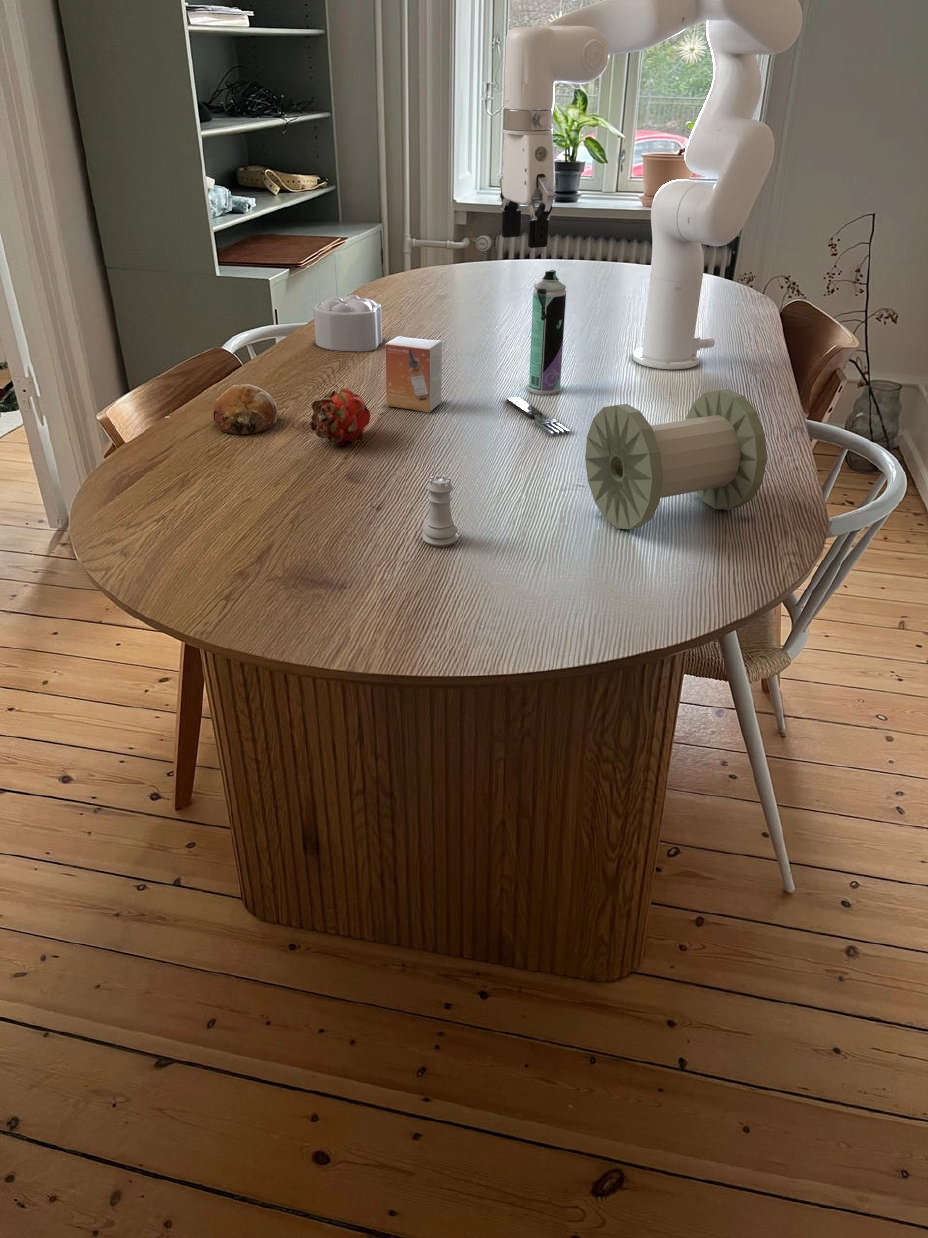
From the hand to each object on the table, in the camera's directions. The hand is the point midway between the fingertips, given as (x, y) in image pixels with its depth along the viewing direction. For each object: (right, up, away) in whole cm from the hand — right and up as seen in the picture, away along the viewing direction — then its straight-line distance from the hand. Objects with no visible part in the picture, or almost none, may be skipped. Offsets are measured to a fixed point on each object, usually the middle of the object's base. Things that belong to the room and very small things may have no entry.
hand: (523, 241), depth 152 cm
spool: (+17, -47, -30) cm, 59 cm away
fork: (+2, -28, +1) cm, 28 cm away
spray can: (+4, -21, +13) cm, 25 cm away
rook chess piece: (-13, -52, -37) cm, 65 cm away
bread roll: (-44, -31, -4) cm, 54 cm away
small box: (-18, -25, +5) cm, 32 cm away
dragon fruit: (-28, -34, -9) cm, 45 cm away
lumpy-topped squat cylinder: (-33, -6, +37) cm, 50 cm away
